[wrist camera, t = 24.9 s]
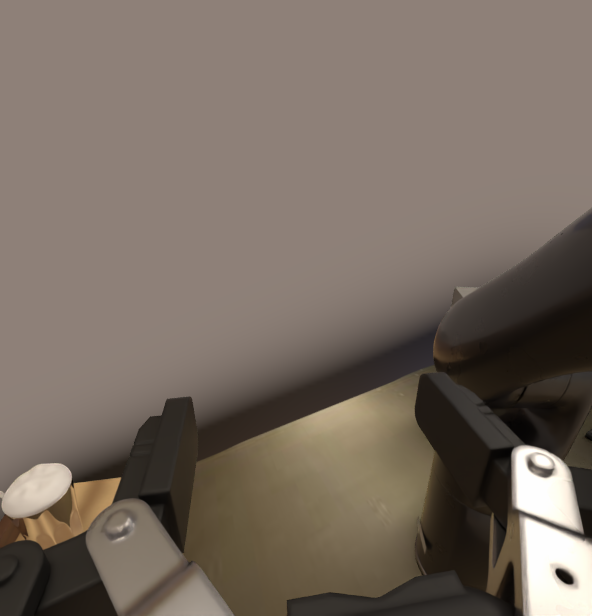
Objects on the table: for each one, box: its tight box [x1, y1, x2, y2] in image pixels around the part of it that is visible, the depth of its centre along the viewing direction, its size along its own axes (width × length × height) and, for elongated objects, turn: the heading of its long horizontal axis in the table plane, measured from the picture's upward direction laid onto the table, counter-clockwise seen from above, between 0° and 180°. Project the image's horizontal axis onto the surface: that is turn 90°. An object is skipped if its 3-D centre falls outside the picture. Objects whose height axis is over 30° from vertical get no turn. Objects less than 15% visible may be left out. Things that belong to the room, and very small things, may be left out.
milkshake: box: [0, 463, 84, 550], centre depth 29 cm, size 4×5×10 cm
